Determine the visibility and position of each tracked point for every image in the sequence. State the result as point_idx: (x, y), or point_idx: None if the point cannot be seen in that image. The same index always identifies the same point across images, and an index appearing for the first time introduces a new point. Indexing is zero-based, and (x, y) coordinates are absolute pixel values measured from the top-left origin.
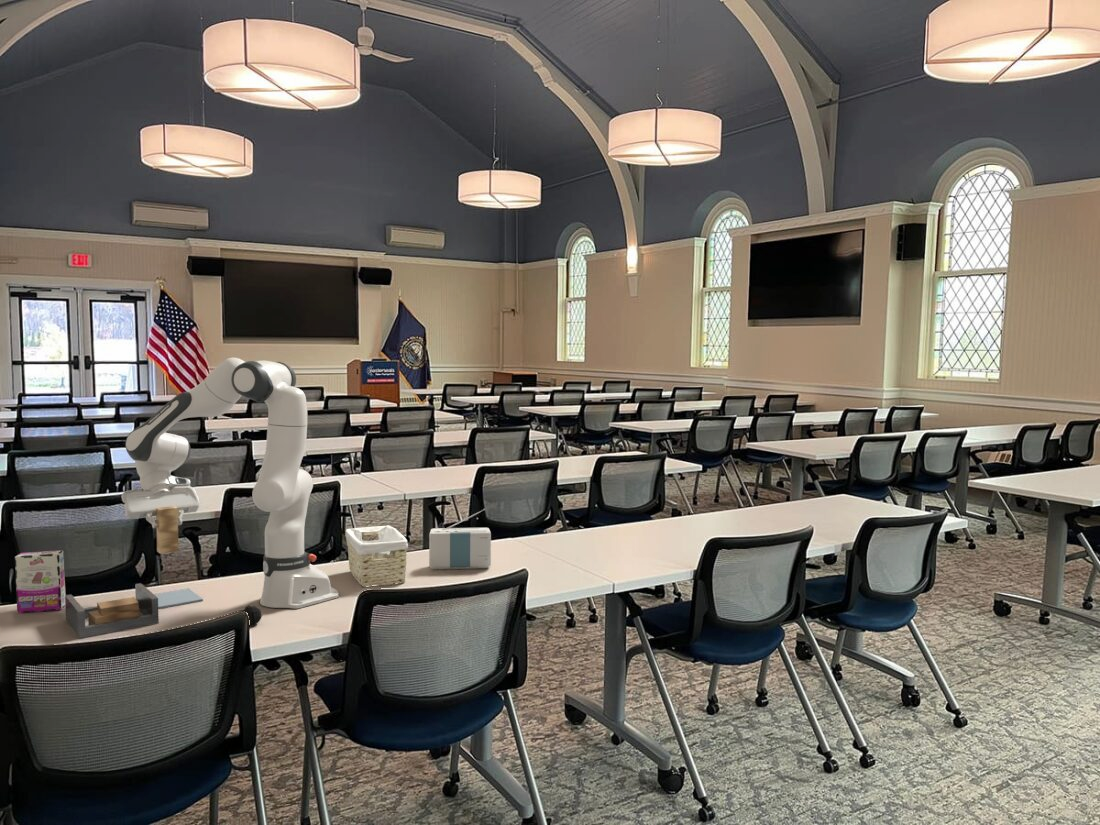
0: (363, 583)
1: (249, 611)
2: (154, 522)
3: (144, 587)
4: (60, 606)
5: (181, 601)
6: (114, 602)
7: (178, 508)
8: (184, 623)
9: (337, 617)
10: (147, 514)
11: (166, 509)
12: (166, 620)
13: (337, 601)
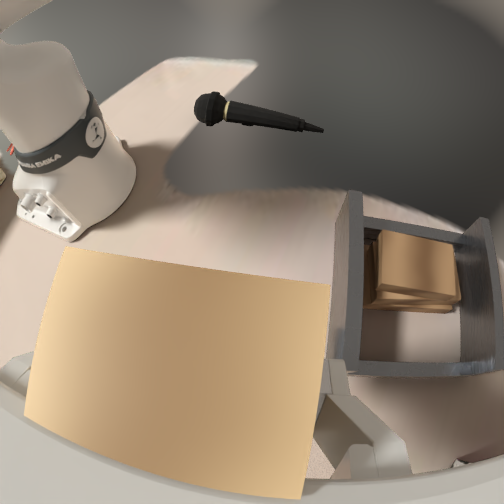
0: (3, 172)
1: (219, 93)
2: (337, 372)
3: (349, 310)
4: (460, 460)
5: None
6: (426, 270)
7: (15, 390)
8: (294, 189)
9: (123, 93)
10: (406, 455)
11: (212, 274)
12: (316, 230)
13: None
